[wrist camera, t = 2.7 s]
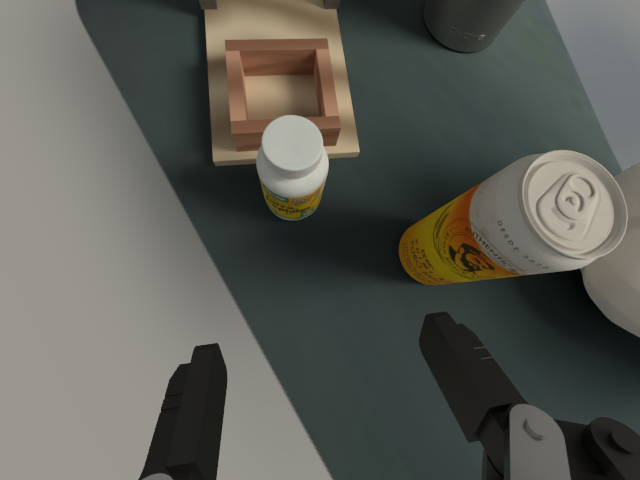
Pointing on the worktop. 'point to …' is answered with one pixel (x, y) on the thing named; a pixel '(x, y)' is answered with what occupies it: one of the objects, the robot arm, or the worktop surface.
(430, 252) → the yellow soda can
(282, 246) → the worktop surface
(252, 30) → the awning socket stand
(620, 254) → the white plastic jug
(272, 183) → the supplement bottle
